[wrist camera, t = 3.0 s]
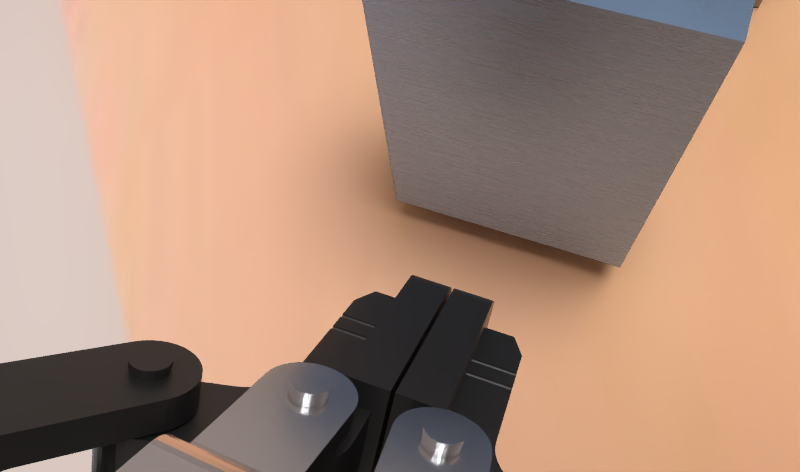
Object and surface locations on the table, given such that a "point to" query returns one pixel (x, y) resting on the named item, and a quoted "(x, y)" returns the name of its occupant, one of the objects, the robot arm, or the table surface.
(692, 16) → the silver metal piece
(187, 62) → the table surface
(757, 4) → the bearing block
